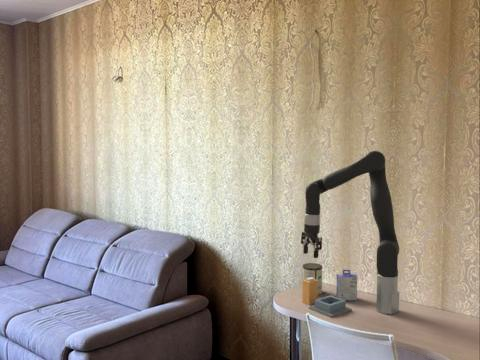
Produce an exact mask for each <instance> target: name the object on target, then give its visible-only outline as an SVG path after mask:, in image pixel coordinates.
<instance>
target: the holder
mask: <svg viewBox="0 0 480 360" xmlns="http://www.w3.org/2000/svg"><path fill="white" fill-rule="evenodd" d="M346 304H347V300H343V299H340V298H337V297H336V296H334V295H331V294H330V295H327V296H324V297H320V298H318V299H317V300H315V303H314V304H311V305H309V306H308V309H309V310H311V311H314V312H316V313H319V314H321V315H324V316H326V317H329V318H335V317H337V316H340V315H343V314H346V313H349V312H352V308H351V307H349V306H347V305H346Z"/></svg>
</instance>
